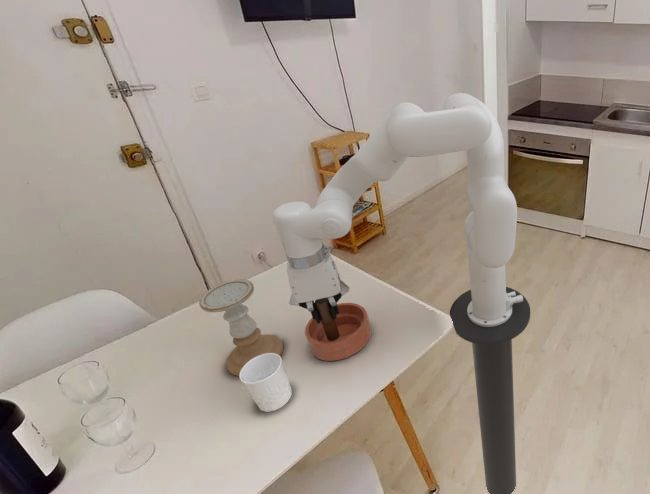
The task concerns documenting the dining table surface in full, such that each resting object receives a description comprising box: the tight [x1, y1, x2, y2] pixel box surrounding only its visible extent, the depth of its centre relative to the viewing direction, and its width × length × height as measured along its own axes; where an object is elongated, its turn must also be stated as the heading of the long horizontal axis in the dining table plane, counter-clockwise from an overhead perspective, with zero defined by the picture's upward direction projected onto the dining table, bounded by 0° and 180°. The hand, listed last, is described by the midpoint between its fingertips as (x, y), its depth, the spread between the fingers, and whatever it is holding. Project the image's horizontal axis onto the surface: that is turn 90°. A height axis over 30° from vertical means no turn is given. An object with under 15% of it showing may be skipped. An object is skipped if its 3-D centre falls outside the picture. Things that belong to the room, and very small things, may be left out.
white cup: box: [238, 353, 293, 413], centre depth 88 cm, size 8×8×10 cm
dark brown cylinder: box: [314, 297, 340, 341], centre depth 99 cm, size 3×3×12 cm
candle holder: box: [199, 278, 284, 377], centre depth 96 cm, size 12×12×20 cm
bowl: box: [304, 302, 372, 362], centre depth 103 cm, size 15×15×6 cm
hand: (327, 317), depth 99 cm, fingers closed on dark brown cylinder, 3 cm apart
